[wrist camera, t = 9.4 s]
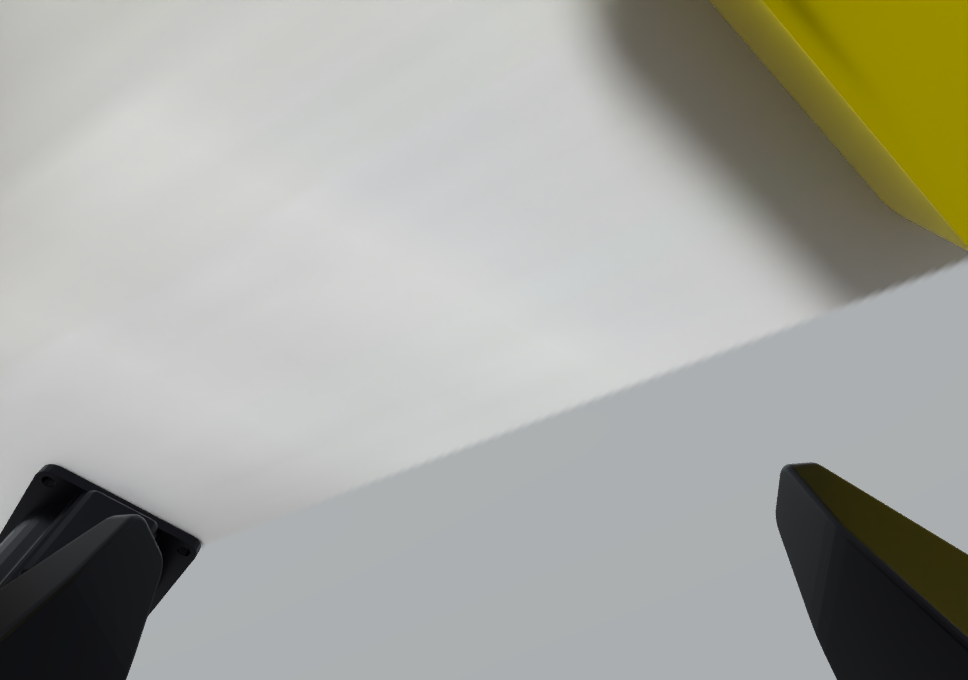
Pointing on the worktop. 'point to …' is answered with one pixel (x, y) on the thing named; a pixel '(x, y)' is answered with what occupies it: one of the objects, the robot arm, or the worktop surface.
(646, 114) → the worktop surface
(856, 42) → the element tile
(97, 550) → the robot arm
